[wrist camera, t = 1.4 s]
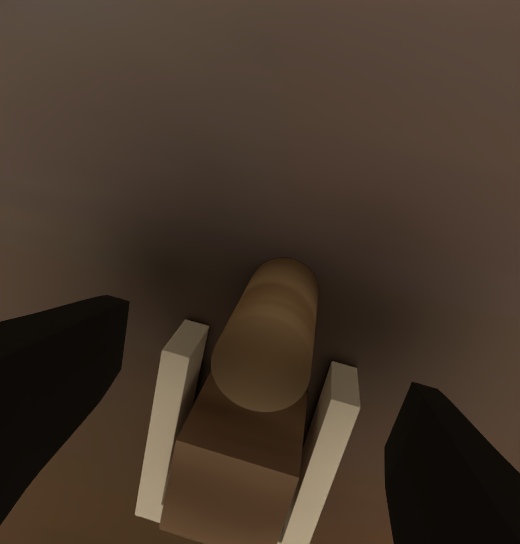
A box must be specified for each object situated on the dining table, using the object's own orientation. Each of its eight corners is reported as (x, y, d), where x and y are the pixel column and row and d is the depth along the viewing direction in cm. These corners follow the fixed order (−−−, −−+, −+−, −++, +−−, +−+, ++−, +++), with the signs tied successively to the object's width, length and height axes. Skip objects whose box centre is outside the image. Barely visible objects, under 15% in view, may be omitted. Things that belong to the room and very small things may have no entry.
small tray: (304, 515, 20) (299, 568, 17) (157, 469, 20) (134, 514, 18) (356, 368, 17) (360, 407, 14) (185, 319, 17) (162, 349, 15)
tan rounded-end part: (284, 466, 19) (265, 595, 14) (197, 440, 19) (147, 556, 14) (345, 273, 16) (351, 347, 11) (239, 245, 16) (194, 303, 11)
